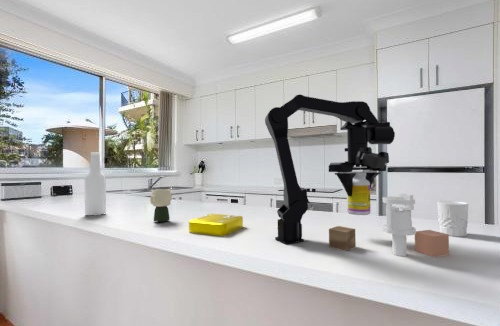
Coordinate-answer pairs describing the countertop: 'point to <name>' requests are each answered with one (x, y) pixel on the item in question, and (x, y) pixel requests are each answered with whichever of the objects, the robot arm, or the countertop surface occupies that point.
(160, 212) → the cream and green figurine
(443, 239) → the terracotta block
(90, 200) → the alcohol
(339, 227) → the walnut block
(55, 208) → the countertop surface
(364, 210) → the supplement bottle
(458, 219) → the white cup
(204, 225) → the element tile
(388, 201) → the white stepped column
